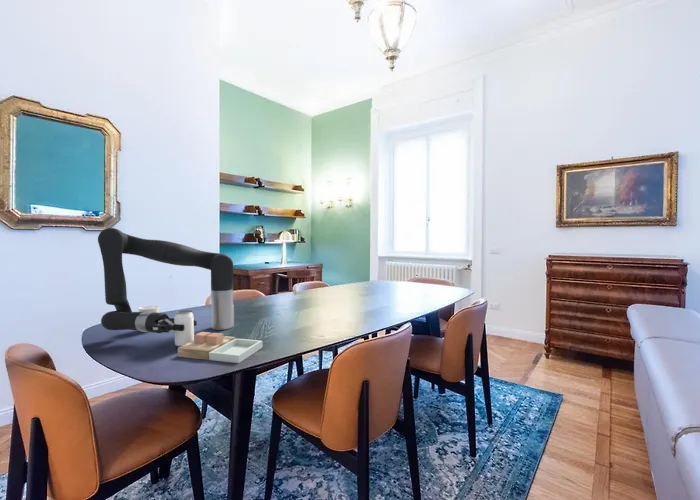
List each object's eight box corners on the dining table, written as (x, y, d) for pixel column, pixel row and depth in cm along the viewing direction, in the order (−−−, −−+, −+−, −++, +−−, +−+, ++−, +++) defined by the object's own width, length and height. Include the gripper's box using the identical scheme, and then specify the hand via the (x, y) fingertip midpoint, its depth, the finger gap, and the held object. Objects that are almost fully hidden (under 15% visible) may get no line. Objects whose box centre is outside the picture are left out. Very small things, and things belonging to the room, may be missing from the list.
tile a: (201, 339, 126) (201, 331, 126) (211, 340, 125) (211, 332, 125) (194, 343, 122) (194, 334, 122) (204, 343, 121) (204, 335, 121)
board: (207, 342, 133) (207, 334, 132) (235, 344, 130) (235, 337, 130) (177, 356, 117) (177, 347, 117) (208, 359, 114) (208, 351, 114)
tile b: (213, 340, 125) (213, 332, 125) (223, 341, 124) (223, 333, 124) (206, 344, 121) (206, 335, 121) (216, 345, 120) (216, 336, 120)
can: (197, 342, 129) (197, 310, 128) (184, 347, 123) (183, 314, 122) (184, 340, 131) (184, 309, 130) (170, 345, 125) (169, 313, 124)
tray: (235, 344, 130) (235, 338, 130) (262, 347, 127) (262, 340, 127) (209, 359, 114) (208, 352, 114) (238, 363, 112) (238, 355, 111)
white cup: (150, 333, 144) (149, 309, 143) (134, 332, 145) (133, 308, 145) (163, 328, 152) (163, 306, 151) (148, 327, 153) (148, 305, 153)
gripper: (136, 317, 123) (175, 320, 119) (166, 308, 137) (202, 311, 133) (136, 337, 123) (176, 341, 119) (166, 326, 137) (202, 330, 133)
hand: (189, 325), depth 126 cm, fingers closed on can, 6 cm apart
